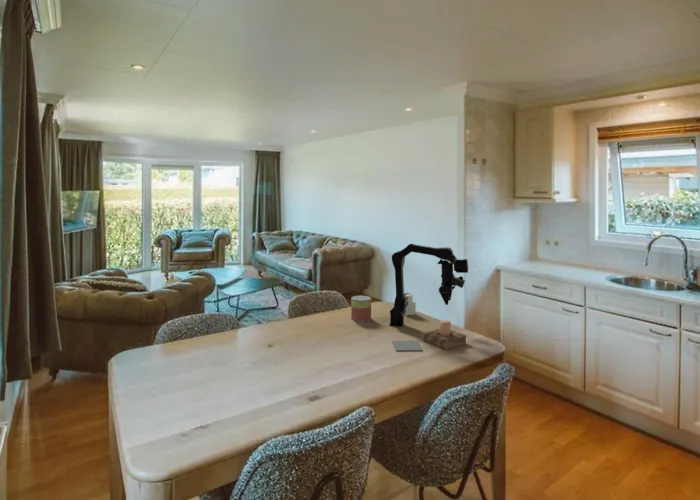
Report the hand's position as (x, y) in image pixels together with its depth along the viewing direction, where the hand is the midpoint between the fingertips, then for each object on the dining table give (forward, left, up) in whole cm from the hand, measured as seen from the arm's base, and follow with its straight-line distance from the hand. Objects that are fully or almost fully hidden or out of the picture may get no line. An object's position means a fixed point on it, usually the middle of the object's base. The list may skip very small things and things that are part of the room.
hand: (448, 302), depth 216 cm
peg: (0, -17, -15) cm, 23 cm away
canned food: (-48, +6, -15) cm, 50 cm away
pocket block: (0, -17, -15) cm, 23 cm away
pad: (-16, -29, -15) cm, 36 cm away
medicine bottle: (-25, +24, -15) cm, 37 cm away
